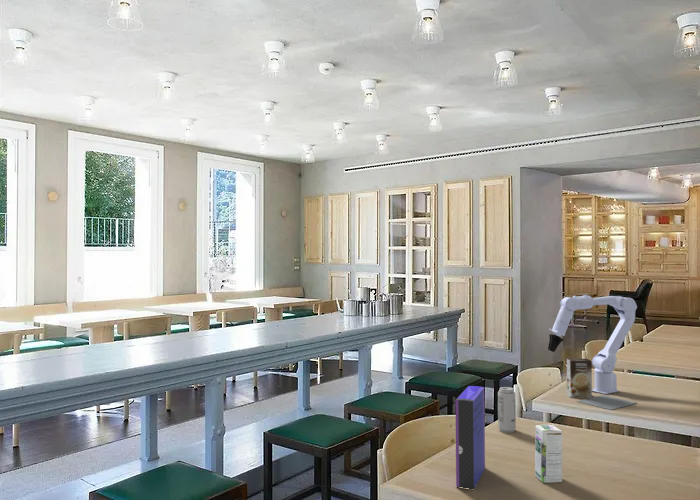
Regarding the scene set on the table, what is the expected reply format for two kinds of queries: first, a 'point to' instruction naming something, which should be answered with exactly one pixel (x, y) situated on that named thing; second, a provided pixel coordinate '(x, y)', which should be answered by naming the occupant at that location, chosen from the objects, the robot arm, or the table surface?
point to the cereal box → (470, 436)
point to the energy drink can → (506, 410)
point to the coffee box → (579, 378)
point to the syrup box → (548, 453)
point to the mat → (607, 402)
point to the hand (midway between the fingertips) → (550, 350)
